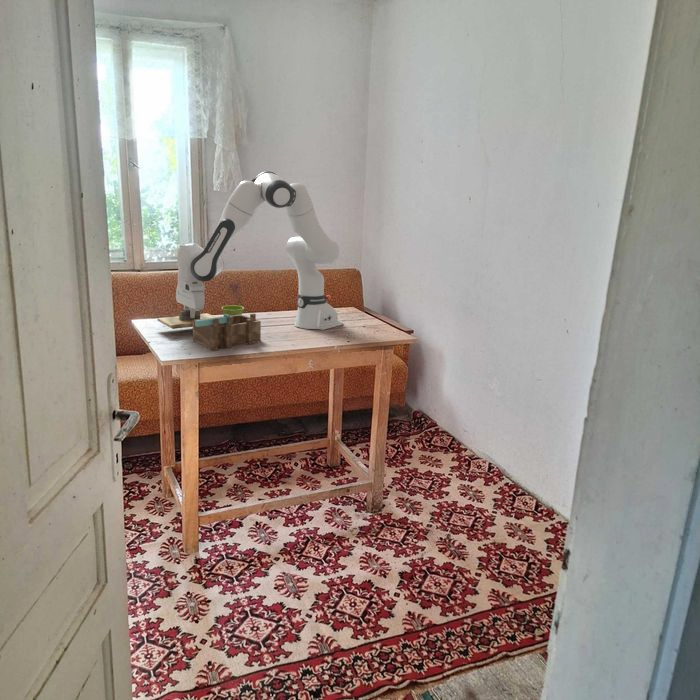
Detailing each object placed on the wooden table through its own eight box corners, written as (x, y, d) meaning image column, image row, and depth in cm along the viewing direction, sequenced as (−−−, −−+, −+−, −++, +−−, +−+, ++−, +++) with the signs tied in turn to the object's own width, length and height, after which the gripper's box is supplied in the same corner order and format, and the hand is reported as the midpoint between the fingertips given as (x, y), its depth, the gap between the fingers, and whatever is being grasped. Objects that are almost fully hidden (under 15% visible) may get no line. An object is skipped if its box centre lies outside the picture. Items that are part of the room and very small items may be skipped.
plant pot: (244, 329, 255) (244, 309, 253) (221, 329, 253) (221, 309, 251) (243, 324, 264) (243, 305, 261) (221, 324, 262) (221, 305, 260)
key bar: (226, 321, 226) (226, 313, 225) (229, 322, 224) (229, 315, 223) (194, 325, 217) (194, 318, 216) (198, 326, 215) (197, 319, 214)
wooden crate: (241, 333, 249) (240, 304, 245) (266, 342, 236) (266, 312, 233) (190, 341, 233) (189, 310, 230) (214, 351, 221) (214, 319, 218)
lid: (207, 317, 260) (207, 305, 258) (225, 325, 247) (225, 312, 246) (157, 322, 247) (157, 309, 245) (173, 331, 234) (173, 318, 232)
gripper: (171, 280, 250) (172, 312, 253) (192, 288, 234) (193, 322, 238) (186, 279, 253) (187, 311, 257) (207, 286, 238) (207, 320, 242)
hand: (190, 316), depth 247 cm, fingers closed on lid, 2 cm apart
